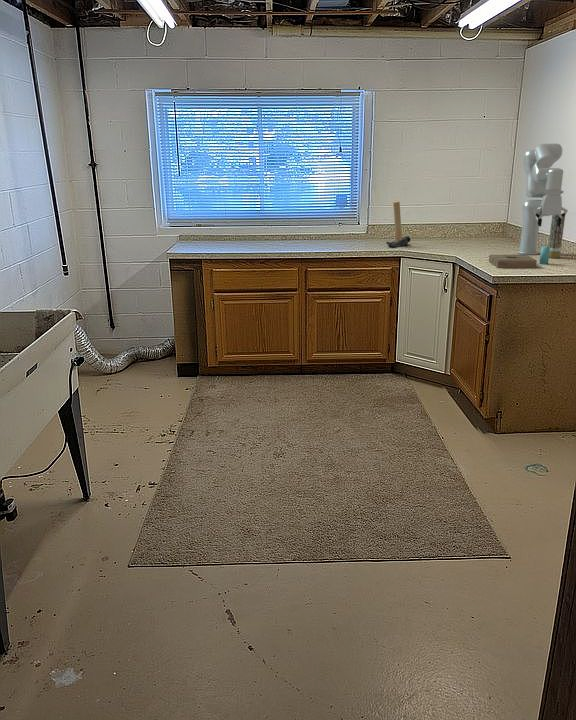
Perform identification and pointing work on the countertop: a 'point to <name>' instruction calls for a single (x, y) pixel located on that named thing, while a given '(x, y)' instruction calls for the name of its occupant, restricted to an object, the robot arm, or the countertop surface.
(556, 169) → the robot arm
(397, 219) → the hammer
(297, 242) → the countertop surface
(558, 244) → the bark patterned cylinder
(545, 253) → the dowel peg
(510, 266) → the socket block
